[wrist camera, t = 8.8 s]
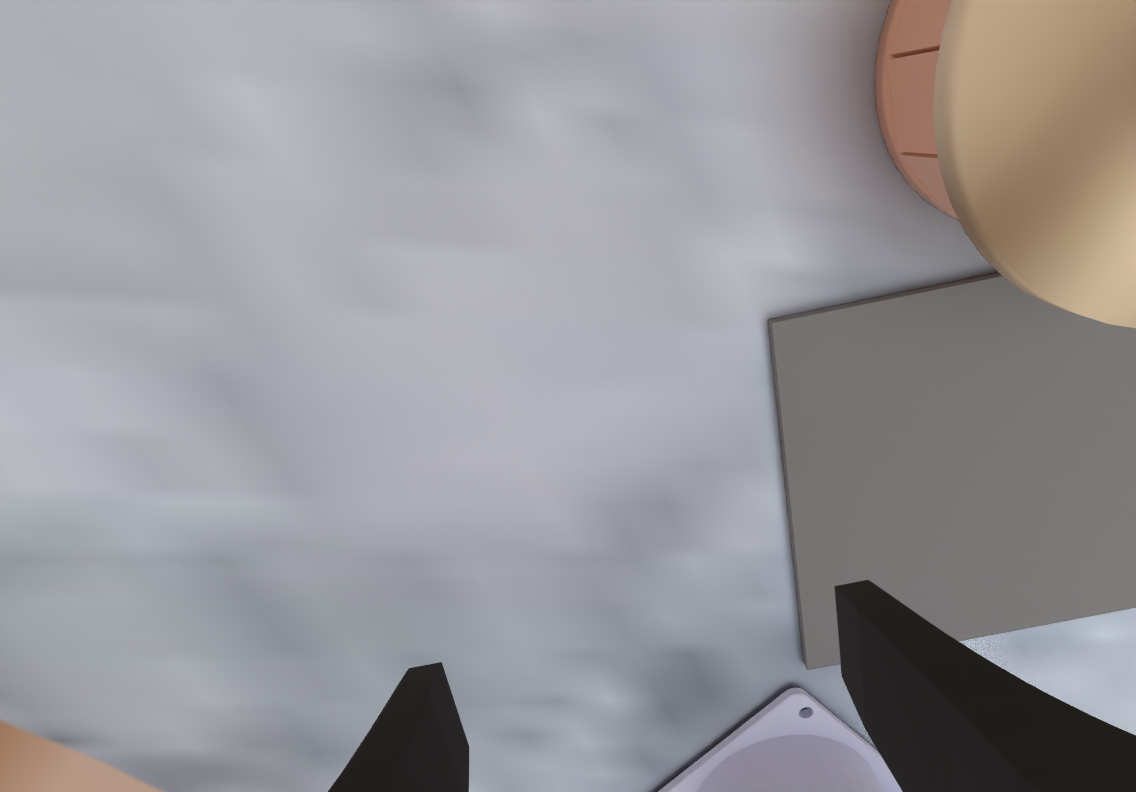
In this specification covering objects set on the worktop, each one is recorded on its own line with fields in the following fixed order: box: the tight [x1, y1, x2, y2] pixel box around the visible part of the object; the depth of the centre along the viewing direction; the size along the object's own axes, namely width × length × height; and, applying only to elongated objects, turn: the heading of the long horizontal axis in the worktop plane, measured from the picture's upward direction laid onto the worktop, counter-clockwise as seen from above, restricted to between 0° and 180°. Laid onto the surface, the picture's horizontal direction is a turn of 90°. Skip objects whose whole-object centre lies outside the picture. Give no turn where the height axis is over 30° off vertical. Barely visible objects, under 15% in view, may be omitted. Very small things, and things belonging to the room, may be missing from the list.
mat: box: [768, 273, 1136, 670], centre depth 24 cm, size 13×16×1 cm
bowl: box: [875, 0, 959, 220], centre depth 17 cm, size 9×9×5 cm
